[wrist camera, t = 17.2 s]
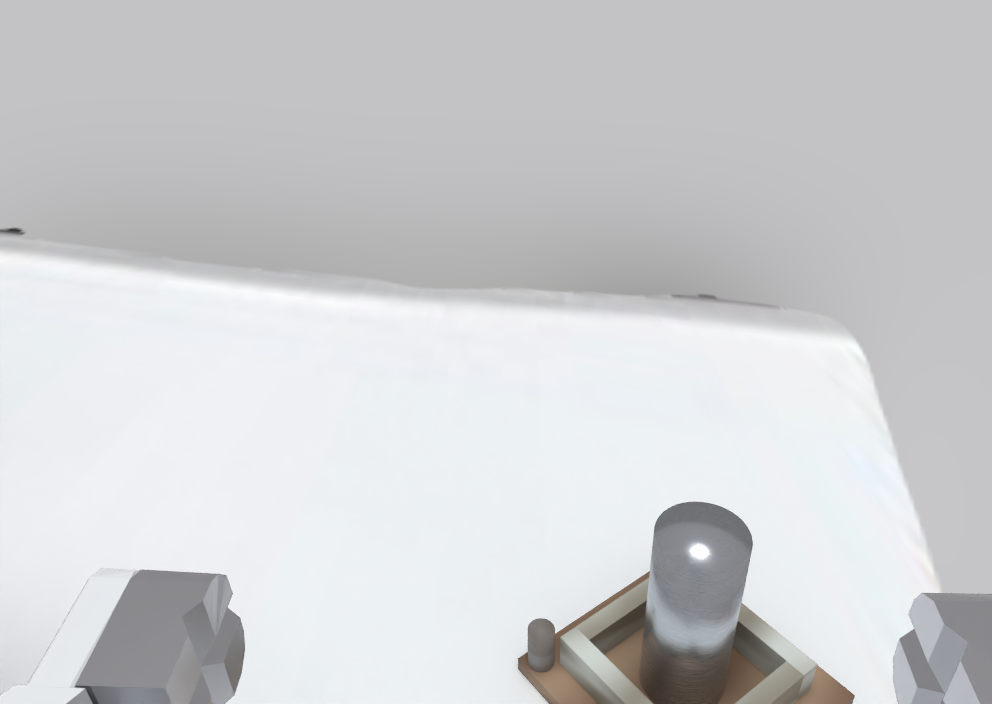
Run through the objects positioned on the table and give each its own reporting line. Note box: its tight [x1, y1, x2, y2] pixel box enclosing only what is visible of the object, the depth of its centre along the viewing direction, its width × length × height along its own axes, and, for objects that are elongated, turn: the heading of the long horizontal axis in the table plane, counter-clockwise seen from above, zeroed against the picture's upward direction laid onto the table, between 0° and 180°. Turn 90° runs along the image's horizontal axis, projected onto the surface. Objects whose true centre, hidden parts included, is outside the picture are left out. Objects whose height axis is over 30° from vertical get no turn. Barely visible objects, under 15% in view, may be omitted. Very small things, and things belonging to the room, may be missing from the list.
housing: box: [518, 571, 855, 704], centre depth 51 cm, size 14×14×4 cm
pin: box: [639, 502, 753, 704], centre depth 48 cm, size 5×5×12 cm
